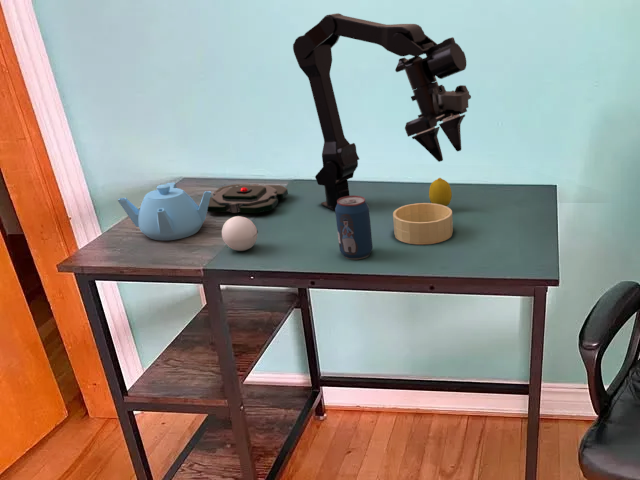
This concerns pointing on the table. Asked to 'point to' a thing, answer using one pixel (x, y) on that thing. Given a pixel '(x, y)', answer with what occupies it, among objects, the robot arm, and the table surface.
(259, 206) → the dark brown layered slab
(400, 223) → the cream yellow bowl
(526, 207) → the table surface
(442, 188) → the lemon
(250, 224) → the white ball
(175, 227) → the teapot
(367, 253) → the soda can
